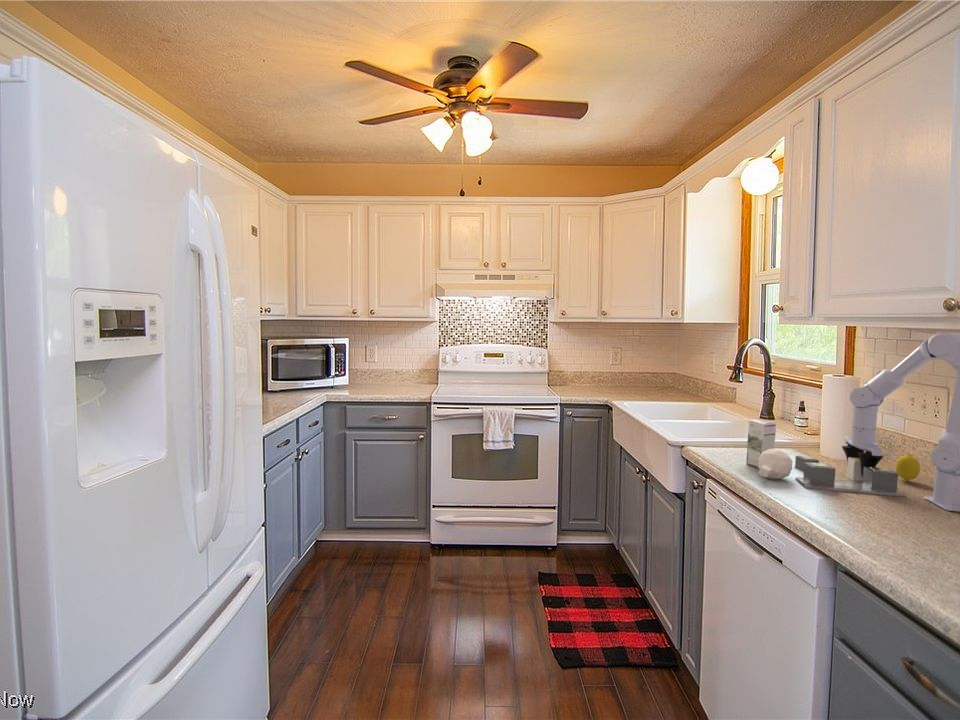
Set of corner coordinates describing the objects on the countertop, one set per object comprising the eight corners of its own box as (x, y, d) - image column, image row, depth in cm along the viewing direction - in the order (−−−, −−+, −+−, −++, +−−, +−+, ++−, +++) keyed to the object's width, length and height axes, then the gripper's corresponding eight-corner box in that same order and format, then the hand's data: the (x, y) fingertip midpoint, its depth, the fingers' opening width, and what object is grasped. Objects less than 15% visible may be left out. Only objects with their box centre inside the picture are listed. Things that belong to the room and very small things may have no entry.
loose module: (872, 482, 152) (874, 461, 151) (852, 480, 153) (854, 460, 152) (865, 478, 156) (867, 457, 155) (846, 476, 157) (848, 456, 156)
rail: (905, 496, 140) (907, 474, 139) (805, 488, 145) (807, 467, 144) (889, 487, 147) (891, 466, 147) (795, 479, 153) (796, 459, 152)
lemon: (892, 477, 157) (895, 451, 157) (916, 480, 154) (919, 453, 154) (896, 482, 152) (898, 455, 152) (920, 485, 150) (923, 458, 149)
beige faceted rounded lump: (762, 464, 161) (743, 476, 154) (772, 439, 157) (754, 450, 150) (791, 479, 155) (773, 492, 148) (802, 454, 151) (785, 465, 144)
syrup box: (774, 467, 165) (777, 422, 164) (760, 469, 163) (763, 423, 162) (758, 462, 170) (761, 418, 169) (745, 464, 168) (748, 419, 167)
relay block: (817, 473, 160) (819, 459, 160) (805, 472, 160) (806, 459, 160) (807, 468, 165) (808, 455, 165) (794, 468, 165) (795, 455, 165)
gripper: (895, 434, 145) (890, 482, 147) (863, 423, 160) (859, 467, 161) (867, 433, 146) (863, 480, 147) (838, 422, 161) (835, 466, 162)
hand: (859, 473), depth 154 cm, fingers open, 6 cm apart
